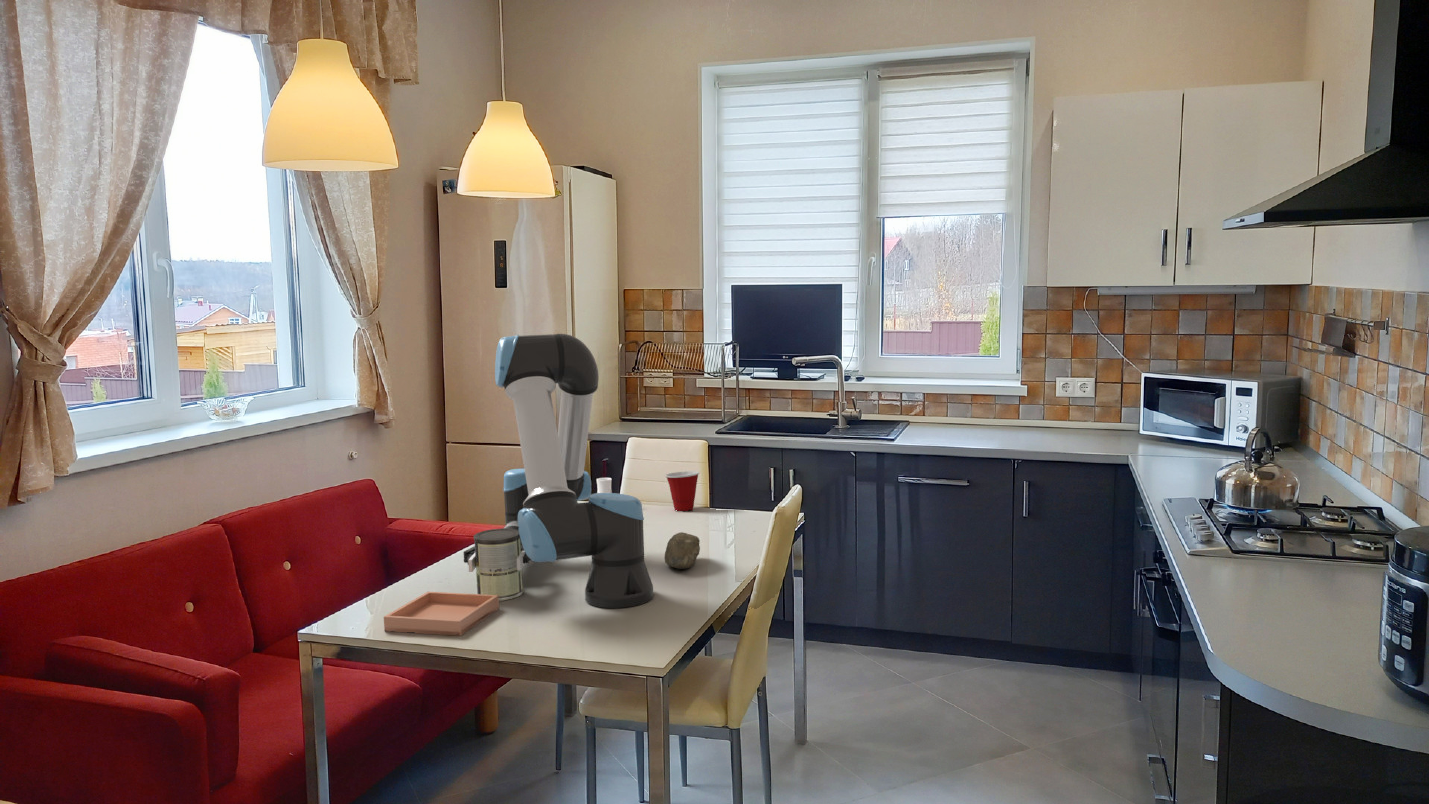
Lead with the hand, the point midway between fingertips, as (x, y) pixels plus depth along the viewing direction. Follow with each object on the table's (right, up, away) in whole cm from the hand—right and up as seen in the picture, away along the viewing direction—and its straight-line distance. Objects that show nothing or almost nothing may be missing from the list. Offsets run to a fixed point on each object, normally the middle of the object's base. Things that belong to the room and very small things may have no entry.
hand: (494, 565), depth 210 cm
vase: (+14, +2, +91) cm, 92 cm away
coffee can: (0, -8, +5) cm, 9 cm away
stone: (+41, -5, +25) cm, 48 cm away
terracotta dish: (-8, -9, -11) cm, 17 cm away
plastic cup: (+39, +2, +88) cm, 96 cm away
